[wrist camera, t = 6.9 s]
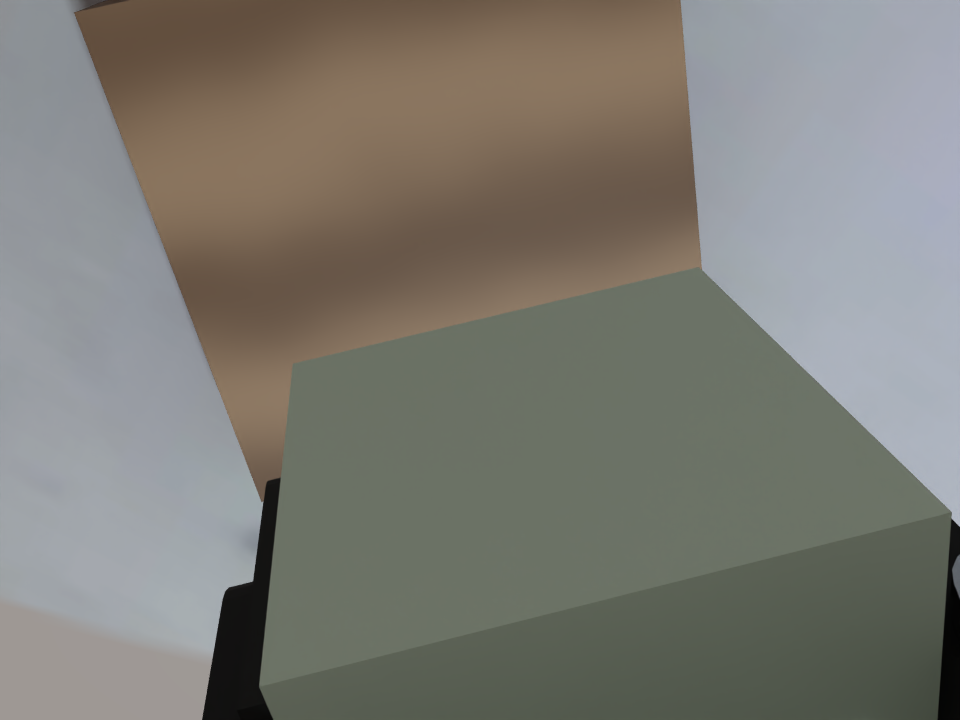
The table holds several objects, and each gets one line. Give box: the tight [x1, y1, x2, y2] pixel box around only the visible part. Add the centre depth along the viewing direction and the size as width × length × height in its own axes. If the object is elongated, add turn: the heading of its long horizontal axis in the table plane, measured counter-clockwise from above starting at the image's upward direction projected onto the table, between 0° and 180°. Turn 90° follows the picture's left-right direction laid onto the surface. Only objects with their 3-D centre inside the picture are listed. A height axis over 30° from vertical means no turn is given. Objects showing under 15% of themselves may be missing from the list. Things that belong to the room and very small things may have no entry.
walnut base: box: [74, 0, 702, 502], centre depth 25 cm, size 14×14×3 cm
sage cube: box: [259, 267, 952, 720], centre depth 11 cm, size 6×6×6 cm
